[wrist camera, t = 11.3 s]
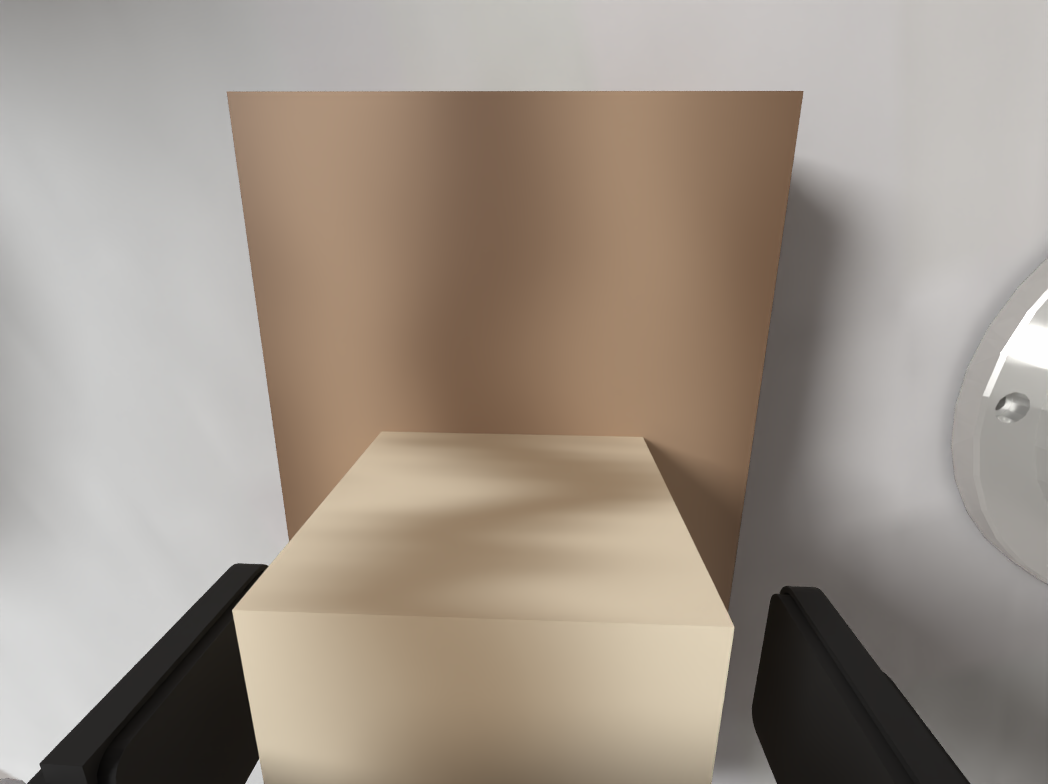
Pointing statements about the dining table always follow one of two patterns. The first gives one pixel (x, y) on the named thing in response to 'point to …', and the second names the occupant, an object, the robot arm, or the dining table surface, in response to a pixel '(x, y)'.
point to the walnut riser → (519, 275)
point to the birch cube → (488, 622)
